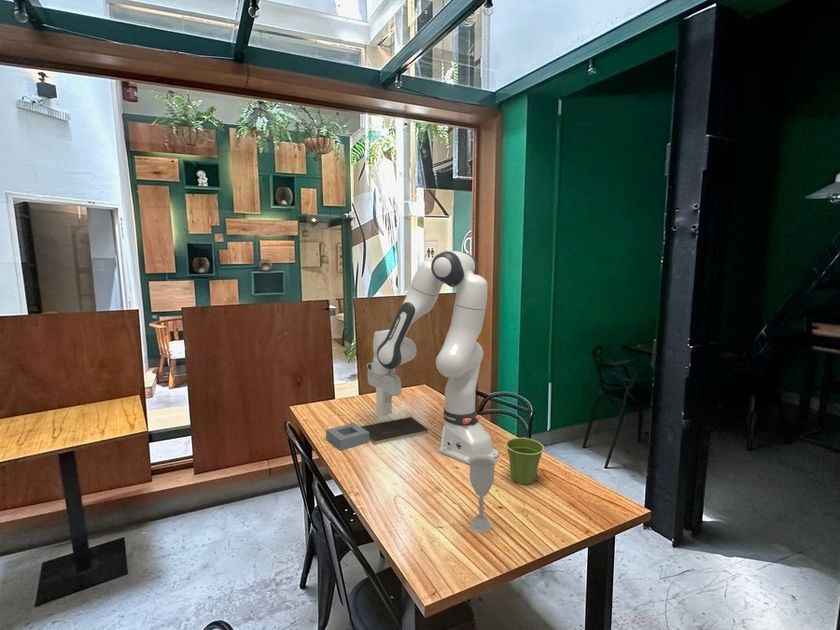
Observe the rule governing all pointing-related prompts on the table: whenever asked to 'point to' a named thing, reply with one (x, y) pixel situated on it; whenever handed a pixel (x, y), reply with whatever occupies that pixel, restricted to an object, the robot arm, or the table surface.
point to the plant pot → (524, 459)
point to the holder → (347, 436)
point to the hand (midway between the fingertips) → (384, 400)
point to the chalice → (481, 486)
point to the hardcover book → (394, 430)
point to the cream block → (382, 402)
